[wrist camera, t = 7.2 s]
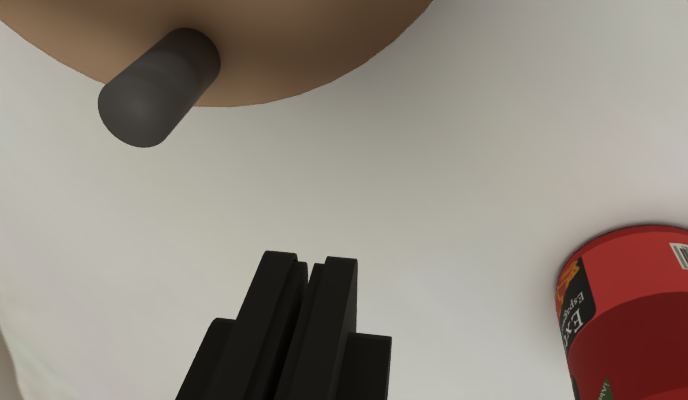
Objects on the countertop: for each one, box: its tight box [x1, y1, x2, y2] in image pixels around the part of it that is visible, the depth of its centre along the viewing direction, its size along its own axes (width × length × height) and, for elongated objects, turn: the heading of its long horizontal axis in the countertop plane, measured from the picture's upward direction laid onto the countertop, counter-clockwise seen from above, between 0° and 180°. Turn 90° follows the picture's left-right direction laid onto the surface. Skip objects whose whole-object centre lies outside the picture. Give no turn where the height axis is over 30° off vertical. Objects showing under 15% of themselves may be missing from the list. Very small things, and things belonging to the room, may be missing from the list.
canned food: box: [555, 225, 688, 400], centre depth 24 cm, size 8×8×11 cm
